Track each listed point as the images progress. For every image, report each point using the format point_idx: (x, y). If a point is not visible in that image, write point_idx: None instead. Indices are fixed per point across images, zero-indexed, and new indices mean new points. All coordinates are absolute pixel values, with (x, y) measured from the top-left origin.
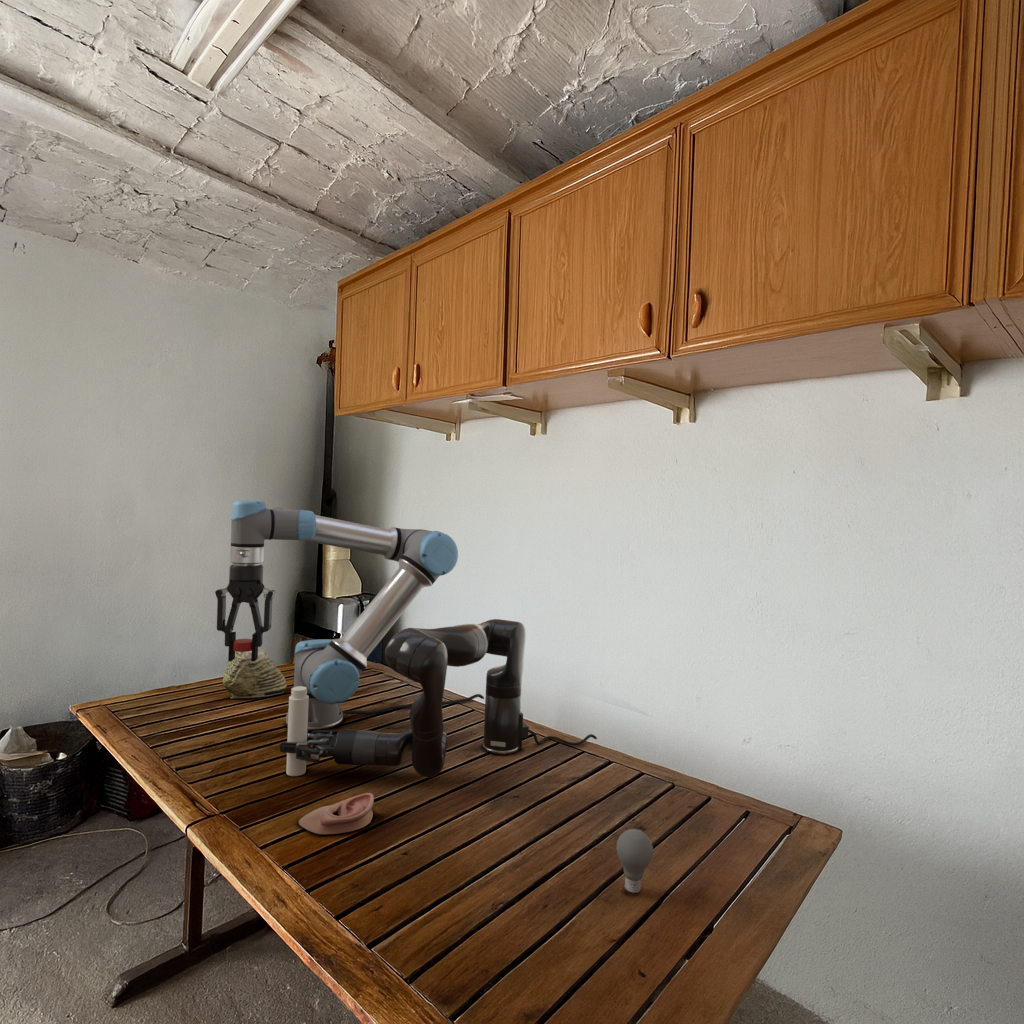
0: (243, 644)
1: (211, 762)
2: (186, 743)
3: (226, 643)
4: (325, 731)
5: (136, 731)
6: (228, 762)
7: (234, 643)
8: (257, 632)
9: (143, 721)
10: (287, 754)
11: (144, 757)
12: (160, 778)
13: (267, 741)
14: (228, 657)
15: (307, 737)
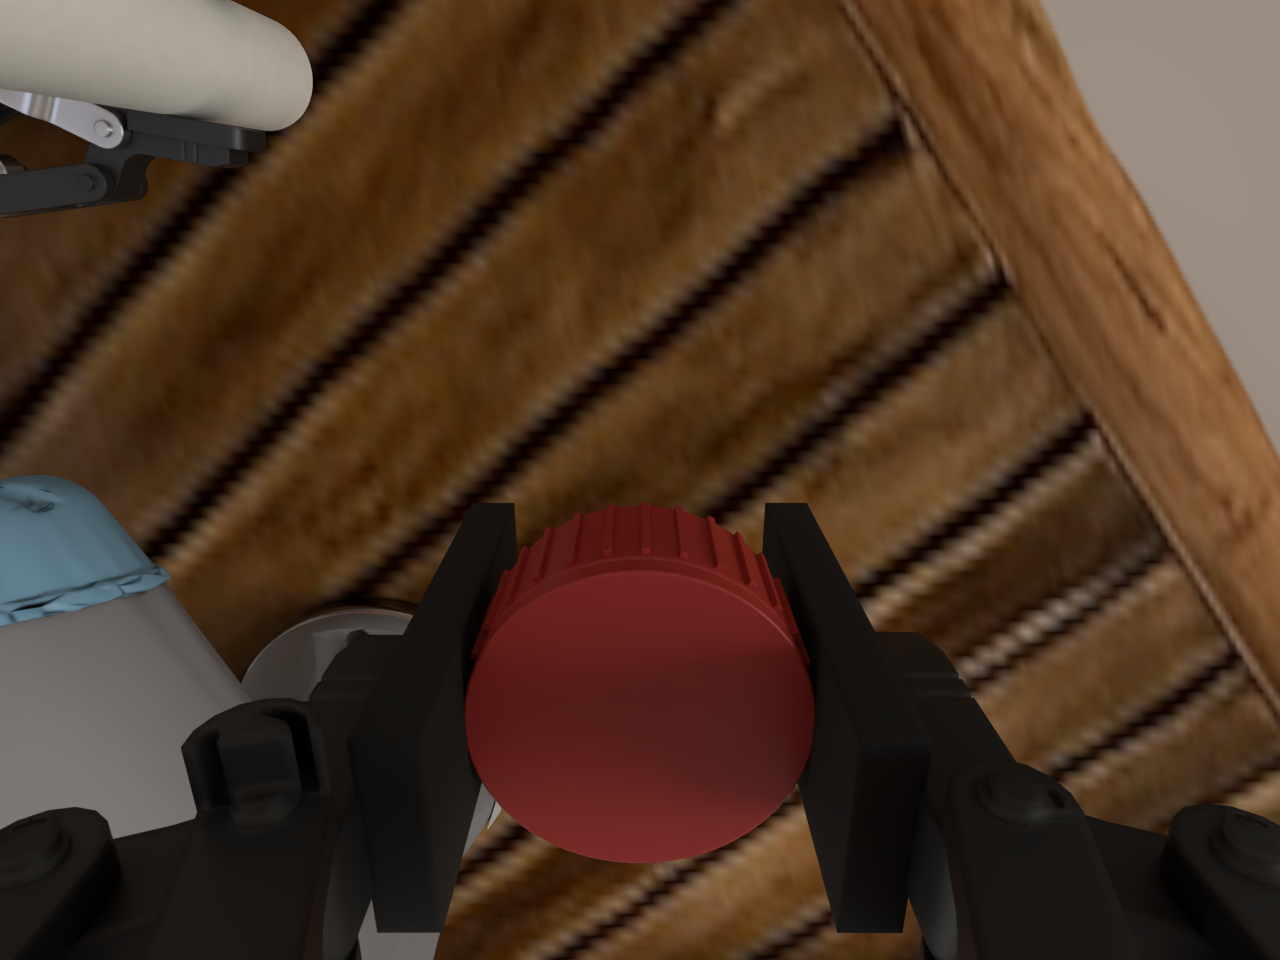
0: (593, 564)
1: (747, 224)
2: (934, 472)
3: (918, 661)
4: (13, 184)
5: (1203, 619)
6: (660, 222)
7: (768, 608)
8: (252, 739)
9: (1195, 733)
10: (249, 22)
11: (1097, 297)
12: (954, 8)
13: (545, 493)
14: (814, 521)
15: (117, 112)
